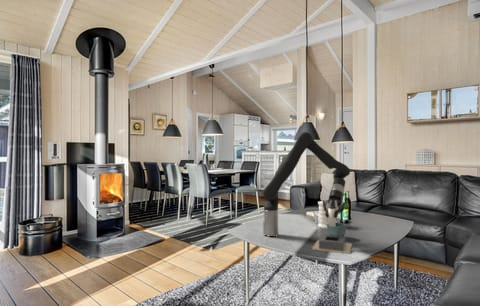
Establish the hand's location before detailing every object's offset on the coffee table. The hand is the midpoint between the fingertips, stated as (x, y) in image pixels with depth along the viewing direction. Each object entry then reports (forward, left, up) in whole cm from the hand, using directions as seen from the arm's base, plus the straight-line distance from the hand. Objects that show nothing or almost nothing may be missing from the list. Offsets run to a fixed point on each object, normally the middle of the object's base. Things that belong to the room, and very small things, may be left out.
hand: (330, 216), depth 171 cm
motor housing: (0, +2, -18) cm, 18 cm away
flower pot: (0, +22, -18) cm, 28 cm away
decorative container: (-11, +51, -18) cm, 55 cm away
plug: (0, +2, -6) cm, 6 cm away
